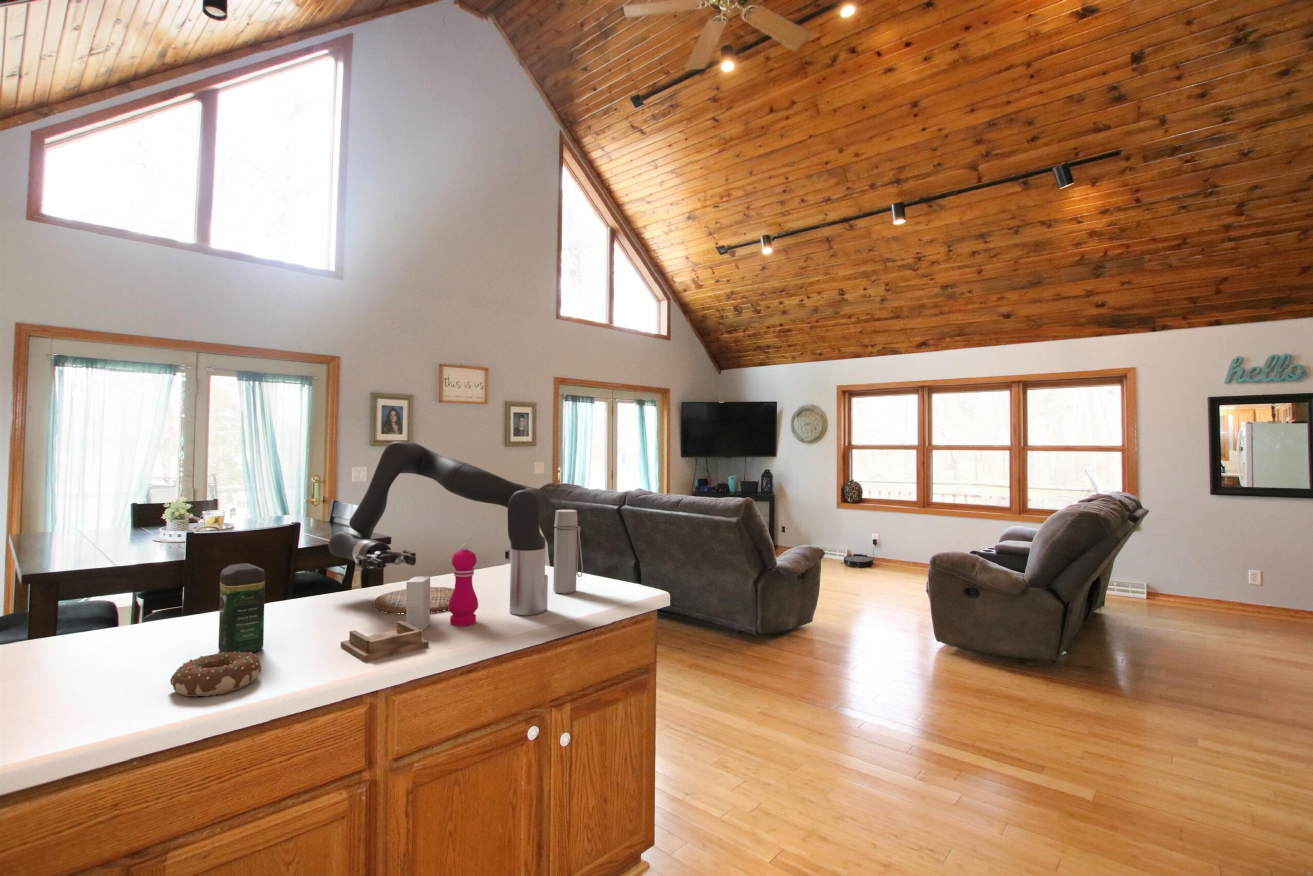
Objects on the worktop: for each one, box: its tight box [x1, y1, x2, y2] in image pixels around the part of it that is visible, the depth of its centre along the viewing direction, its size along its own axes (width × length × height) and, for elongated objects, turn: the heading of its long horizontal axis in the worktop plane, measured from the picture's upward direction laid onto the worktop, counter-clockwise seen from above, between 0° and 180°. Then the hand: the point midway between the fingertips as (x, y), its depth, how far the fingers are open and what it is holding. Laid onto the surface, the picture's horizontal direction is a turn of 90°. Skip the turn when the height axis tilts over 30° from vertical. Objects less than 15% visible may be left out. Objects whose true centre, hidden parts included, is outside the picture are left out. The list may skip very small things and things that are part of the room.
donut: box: [169, 652, 262, 697], centre depth 118 cm, size 14×14×5 cm
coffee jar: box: [217, 562, 266, 653], centre depth 137 cm, size 10×8×19 cm
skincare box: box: [405, 576, 431, 631], centre depth 156 cm, size 6×4×12 cm
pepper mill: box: [448, 543, 479, 627], centre depth 160 cm, size 7×7×20 cm
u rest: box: [340, 620, 429, 663], centre depth 141 cm, size 14×13×4 cm
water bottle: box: [552, 509, 584, 595], centre depth 195 cm, size 9×8×25 cm
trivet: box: [374, 586, 455, 615], centre depth 179 cm, size 25×25×2 cm
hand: (397, 563), depth 163 cm, fingers open, 8 cm apart
